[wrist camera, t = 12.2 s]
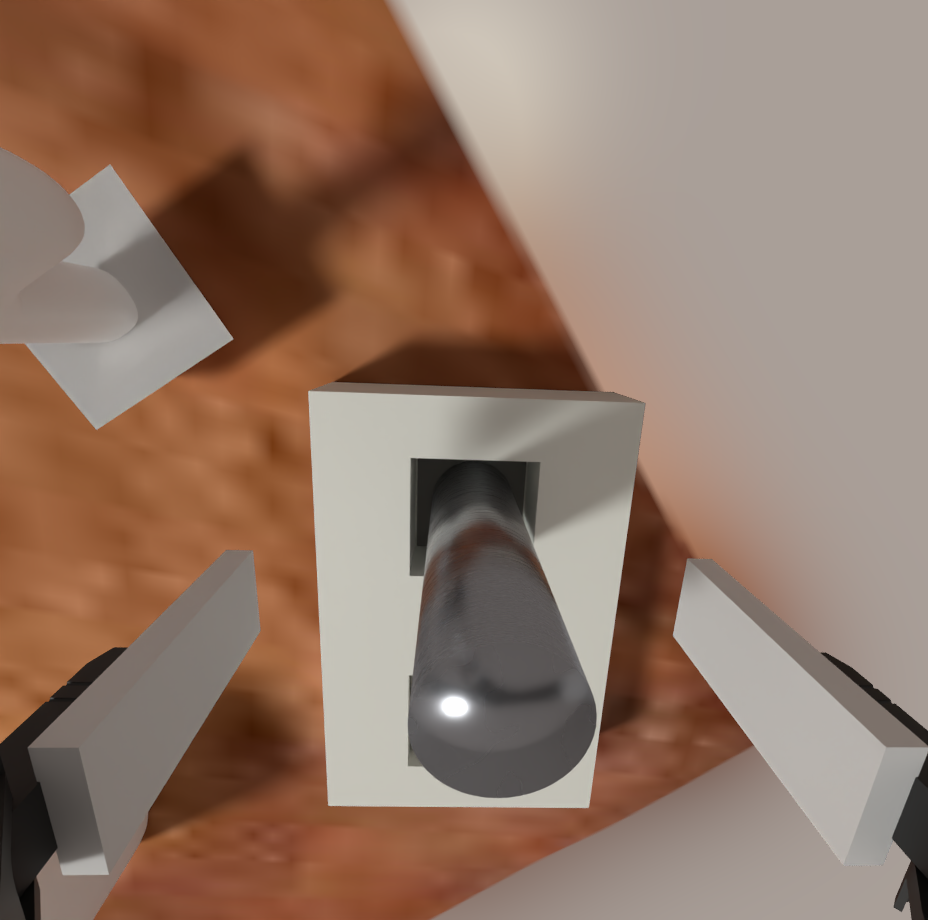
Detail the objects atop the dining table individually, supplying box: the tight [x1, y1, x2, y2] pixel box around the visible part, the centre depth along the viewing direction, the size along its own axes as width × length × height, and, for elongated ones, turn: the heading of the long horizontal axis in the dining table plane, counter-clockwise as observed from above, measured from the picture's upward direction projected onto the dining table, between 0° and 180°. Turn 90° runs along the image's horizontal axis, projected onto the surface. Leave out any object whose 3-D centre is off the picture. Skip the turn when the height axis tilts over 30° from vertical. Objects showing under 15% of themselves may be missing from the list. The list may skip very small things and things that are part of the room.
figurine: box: [0, 148, 233, 430], centre depth 14 cm, size 7×9×15 cm
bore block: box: [308, 382, 645, 808], centre depth 24 cm, size 22×14×4 cm, turn 178°
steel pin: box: [408, 461, 597, 798], centre depth 16 cm, size 4×4×14 cm
